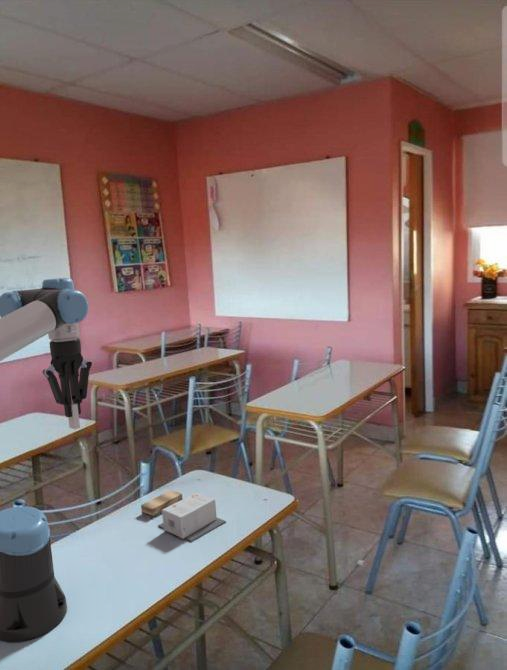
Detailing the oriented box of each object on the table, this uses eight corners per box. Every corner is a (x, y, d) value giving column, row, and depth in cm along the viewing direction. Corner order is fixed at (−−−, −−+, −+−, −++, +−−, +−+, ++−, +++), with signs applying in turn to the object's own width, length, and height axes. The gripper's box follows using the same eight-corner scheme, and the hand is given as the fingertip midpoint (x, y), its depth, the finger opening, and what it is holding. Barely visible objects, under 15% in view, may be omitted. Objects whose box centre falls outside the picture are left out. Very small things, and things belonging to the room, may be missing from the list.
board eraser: (153, 519, 161) (152, 509, 160) (142, 515, 164) (141, 505, 164) (182, 503, 170) (182, 493, 170) (171, 499, 173) (170, 490, 173)
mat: (191, 542, 147) (191, 540, 146) (158, 526, 156) (158, 525, 156) (225, 522, 156) (225, 521, 156) (192, 508, 165) (192, 507, 165)
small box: (182, 539, 147) (217, 519, 157) (180, 517, 146) (215, 498, 156) (163, 530, 153) (198, 511, 162) (161, 509, 152) (196, 491, 161)
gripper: (47, 344, 133) (59, 437, 137) (95, 335, 143) (104, 423, 147) (33, 342, 138) (44, 432, 142) (79, 334, 148) (88, 418, 152)
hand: (74, 427), depth 144 cm, fingers closed
